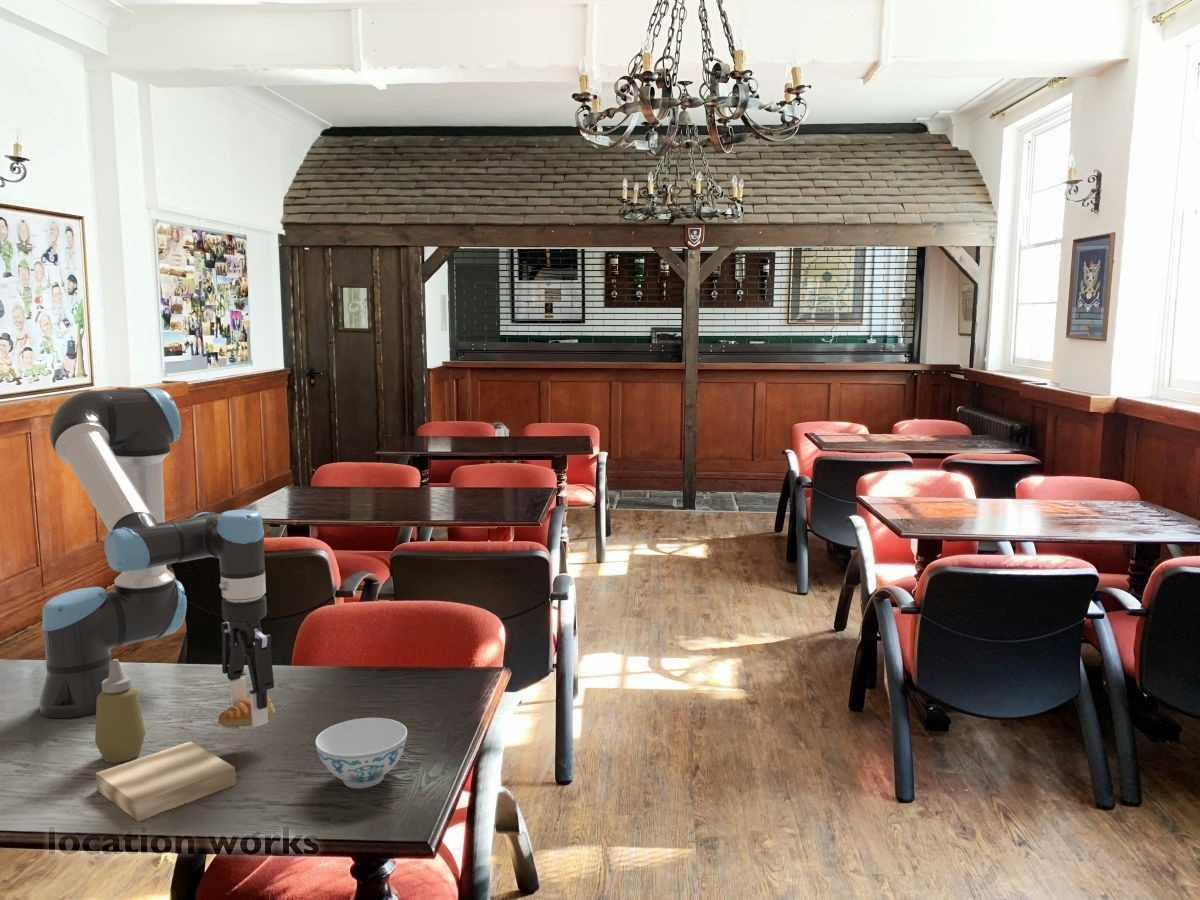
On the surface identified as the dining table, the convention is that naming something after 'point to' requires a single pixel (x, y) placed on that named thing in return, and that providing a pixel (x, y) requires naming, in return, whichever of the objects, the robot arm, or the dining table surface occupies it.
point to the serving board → (165, 780)
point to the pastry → (242, 714)
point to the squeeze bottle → (118, 718)
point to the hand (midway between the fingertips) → (249, 718)
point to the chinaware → (361, 749)
